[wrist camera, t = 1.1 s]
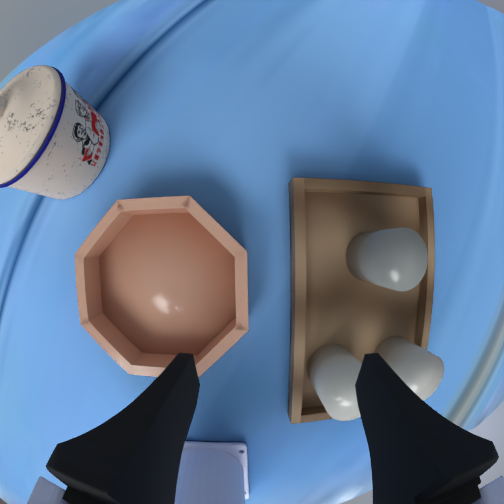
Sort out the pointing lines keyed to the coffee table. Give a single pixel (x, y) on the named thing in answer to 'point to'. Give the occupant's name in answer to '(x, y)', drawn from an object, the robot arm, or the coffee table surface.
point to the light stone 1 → (335, 380)
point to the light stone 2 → (412, 364)
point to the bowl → (162, 284)
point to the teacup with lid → (49, 135)
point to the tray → (349, 276)
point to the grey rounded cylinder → (388, 258)
